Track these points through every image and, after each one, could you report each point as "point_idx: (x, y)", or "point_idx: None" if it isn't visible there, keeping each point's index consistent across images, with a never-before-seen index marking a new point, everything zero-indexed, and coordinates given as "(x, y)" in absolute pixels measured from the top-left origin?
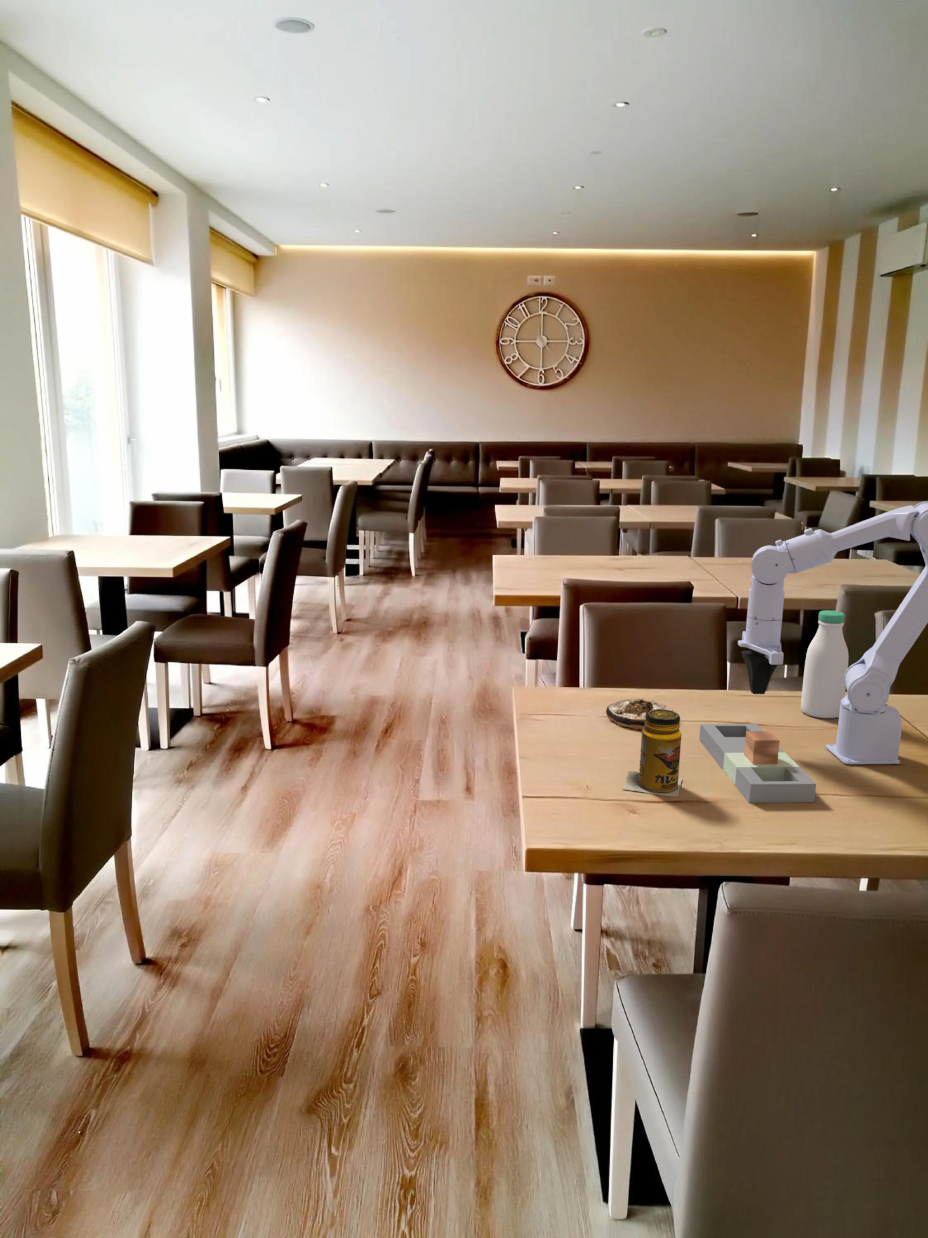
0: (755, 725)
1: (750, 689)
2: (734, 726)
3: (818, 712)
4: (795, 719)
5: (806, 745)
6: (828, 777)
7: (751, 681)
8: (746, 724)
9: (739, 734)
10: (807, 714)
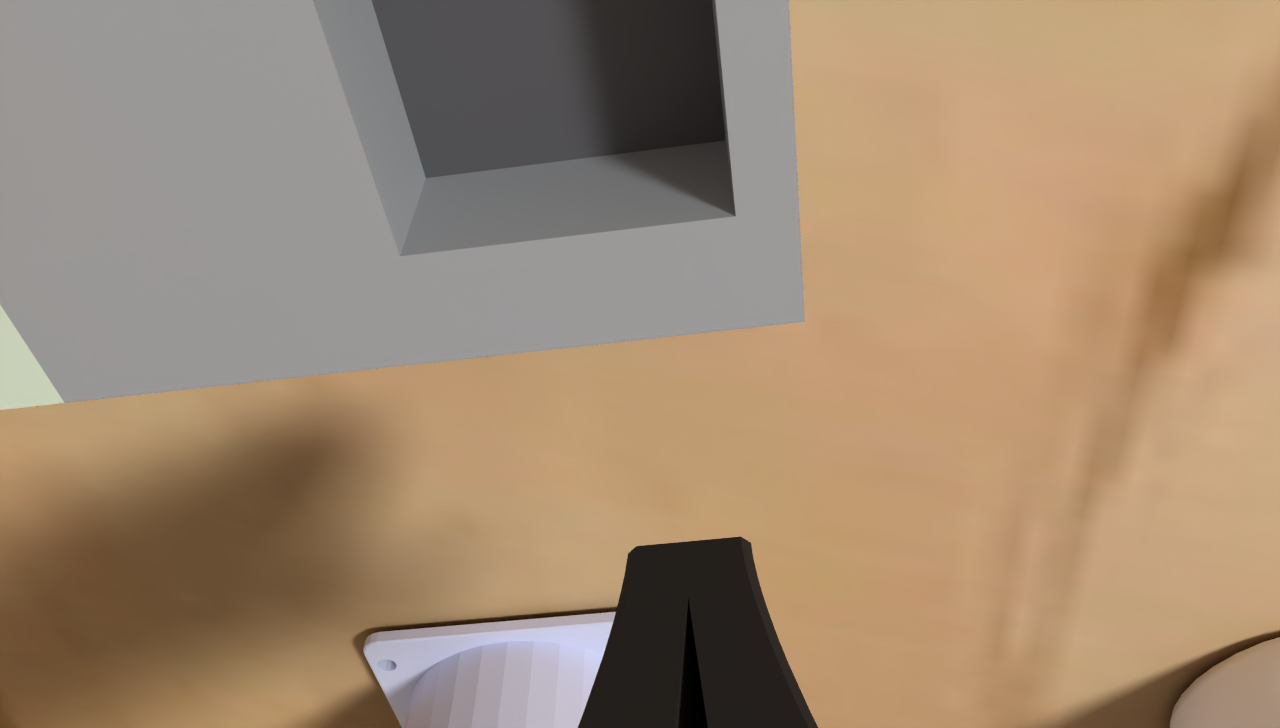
0: (748, 307)
1: (731, 562)
2: (724, 97)
3: (1216, 704)
4: (1220, 563)
5: (689, 525)
6: (119, 522)
7: (635, 697)
8: (777, 232)
9: (724, 115)
10: (1278, 639)
